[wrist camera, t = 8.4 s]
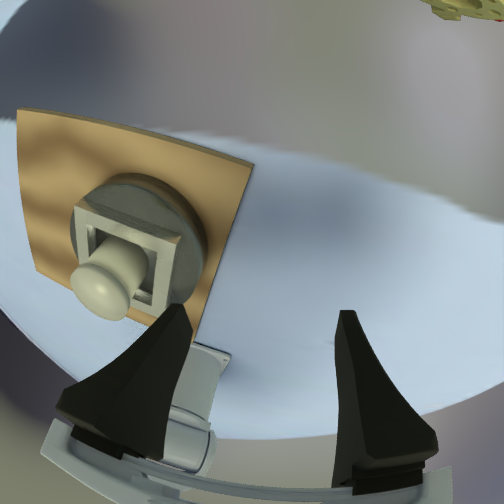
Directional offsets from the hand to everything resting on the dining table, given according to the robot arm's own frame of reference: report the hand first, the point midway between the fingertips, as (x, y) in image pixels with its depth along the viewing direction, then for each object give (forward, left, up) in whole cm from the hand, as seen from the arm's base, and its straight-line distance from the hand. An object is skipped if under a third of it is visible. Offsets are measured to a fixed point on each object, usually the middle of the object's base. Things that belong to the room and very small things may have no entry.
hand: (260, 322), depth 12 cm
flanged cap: (-6, +10, -6) cm, 13 cm away
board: (-8, +15, -10) cm, 20 cm away
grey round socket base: (-6, +10, -9) cm, 15 cm away
